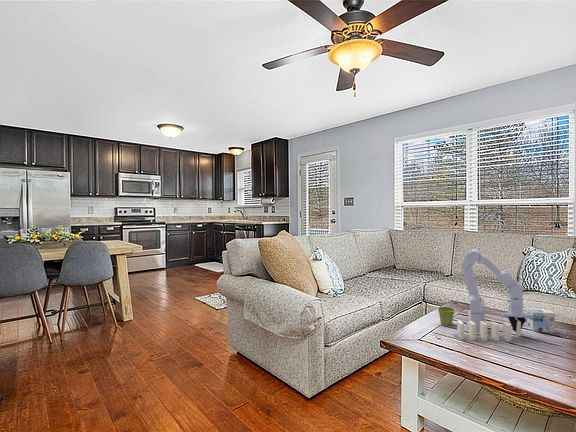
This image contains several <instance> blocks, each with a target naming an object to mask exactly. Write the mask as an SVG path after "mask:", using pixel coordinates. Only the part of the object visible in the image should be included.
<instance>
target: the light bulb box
mask: <svg viewBox="0 0 576 432" xmlns="http://www.w3.org/2000/svg"><path fill="white" fill-rule="evenodd" d="M526 310H527V311H526V312H527V313H528V314H532V315H533V318H526V321H527V322H526V323H527V325H526V326H527V328H528V329H529V330H531V331H533V332H540V333H556V312H554V311H552V310H551V309H547V308H545V309H544V308H527V309H526Z"/></svg>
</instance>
